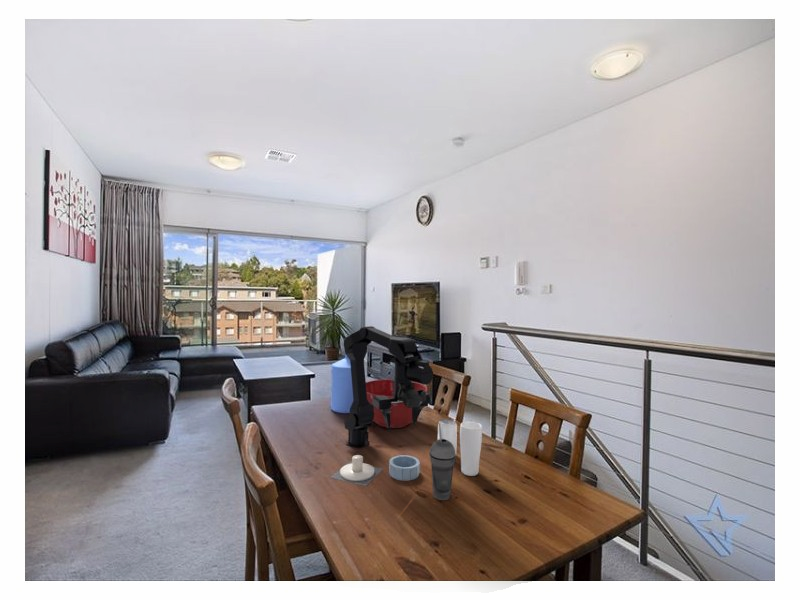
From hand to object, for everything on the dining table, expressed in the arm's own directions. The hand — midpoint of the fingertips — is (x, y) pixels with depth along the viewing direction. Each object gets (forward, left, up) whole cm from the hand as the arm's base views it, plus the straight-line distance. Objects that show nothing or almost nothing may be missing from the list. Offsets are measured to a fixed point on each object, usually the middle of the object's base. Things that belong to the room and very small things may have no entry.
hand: (401, 426), depth 125 cm
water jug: (-46, +44, -13) cm, 64 cm away
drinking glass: (+21, +5, -13) cm, 25 cm away
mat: (-10, -11, -13) cm, 19 cm away
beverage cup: (+17, -12, -13) cm, 25 cm away
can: (+11, +14, -13) cm, 22 cm away
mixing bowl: (-19, +36, -13) cm, 42 cm away
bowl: (+3, -5, -13) cm, 14 cm away
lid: (-10, -11, -12) cm, 19 cm away
